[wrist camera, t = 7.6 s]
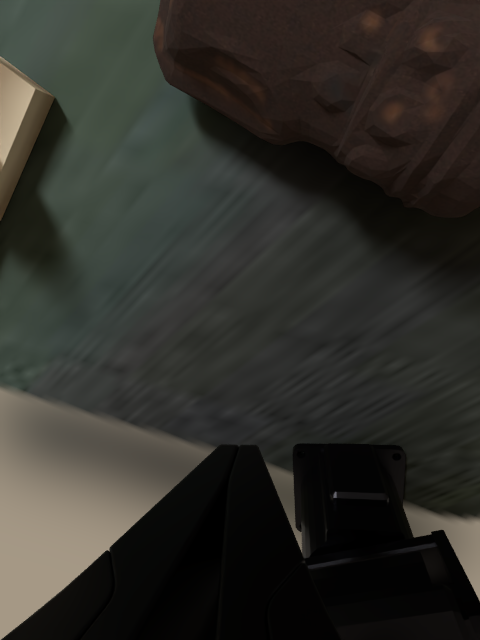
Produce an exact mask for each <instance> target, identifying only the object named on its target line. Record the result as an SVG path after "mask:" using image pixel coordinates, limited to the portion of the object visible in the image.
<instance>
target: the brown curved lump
mask: <svg viewBox="0 0 480 640" xmlns="http://www.w3.org/2000/svg"><path fill="white" fill-rule="evenodd" d="M153 42H154V49H155V53H156V56H157V59H158V62H159V65H160V68H161V70H162V72H163V75H164V77H165V80H166V81H167V82H168V83H169V84H170V85H172V86H174V87H176V88H177V89H179V90H181V91H183V92H185V93H186V94H188V95H190V96H192V97H194V98H195V99H197V100H199V101H201V102H203V103H204V104H206V105H208V106H209V107H211V108H213V109H214V110H216V111H218V112H219V113H221V114H223V115H224V116H226V117H228V118H229V119H231V120H233V121H234V122H236V123H238V124H239V125H241V126H242V127H244V128H245V129H247V130H248V131H250V132H251V133H253V134H255V135H256V136H258V137H259V138H261V139H263V140H265V141H267V142H269V143H271V144H275V145H285V144H289V143H293V142H297V141H307V142H309V143H311V144H314V145H316V146H318V147H320V148H323V149H324V150H326V151H327V152H328V153H330V155H331V156H332V157H333V158H334V159H335V160H336V161H337V162H338V163H340V164H343V165H345V166H346V168H347V170H349V171H350V172H351V173H353V174H354V175H356V176H358V177H360V178H362V179H366V180H370V181H372V182H374V183H376V184H377V185H379V186H380V187H382V188H383V190H384V193H385V194H386V195H388V196H389V197H397V198H399V199H400V200H402V202H403V206H404V207H408V208H420V209H421V210H423V211H425V212H427V213H428V214H430V215H432V216H436V217H443V218H456V217H463V216H465V215H467V214H468V213H470V212H472V211H473V210H475V209H476V208H478V207H479V206H480V0H161V1H160V7H159V13H158V18H157V22H156V26H155V31H154V35H153Z"/></svg>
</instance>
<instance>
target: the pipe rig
mask: <svg viewBox="0 0 480 640" xmlns="http://www.w3.org/2000/svg"><path fill="white" fill-rule="evenodd" d="M54 98H55V97H54V96H53V95H51V94H50V93H49V92H47V91H46V90H45V89H43V88H42V87H41V86H39V85H38V84H37V83H35V82H34V81H33V80H31V79H30V78H29V77H27V76H26V75H25V74H23V73H22V72H21V71H19V70H18V69H17V68H15V67H14V66H13V65H11V64H10V63H9V62H7V61H6V60H5V59H3V58H2V57H1V56H0V221H1V219H2V217H3V215H4V212H5V210H6V208H7V205H8V203H9V201H10V199H11V196H12V194H13V192H14V189H15V187H16V185H17V183H18V180H19V178H20V176H21V173H22V171H23V169H24V167H25V164H26V162H27V160H28V157H29V155H30V153H31V151H32V148H33V146H34V144H35V141H36V139H37V137H38V135H39V132H40V130H41V128H42V125H43V123H44V121H45V119H46V116H47V114H48V112H49V110H50V107H51V105H52V103H53V100H54Z"/></svg>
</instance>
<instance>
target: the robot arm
mask: <svg viewBox="0 0 480 640" xmlns="http://www.w3.org/2000/svg"><path fill="white" fill-rule="evenodd" d="M299 451H303V452H304V453H303V454H299V453H298V452H299ZM395 453H398V454H399V455H397V456H393V454H395ZM405 462H406V455H405V452H404V450H403V449H402V448H401V447H400V446H396V445H369V444H297V445H295V446H294V447H293V472H294V496H295V520H296V528H297V530H299V531H300V532H302V552H301V550H300V547H299V545H298V543H297V540H296V538H295V535H294V533H293V530H292V528H291V525H290V523H289V521H288V518H287V516H286V513H285V511H284V508H283V506H282V503H281V501H280V499H279V496H278V494H277V491H276V489H275V486H274V484H273V481H272V479H271V477H270V474H269V472H268V469H267V467H266V464H265V462H264V459H263V457H262V455H261V452H260V450H259V447H258V446H257V445H241V446H239V447H238V445H226V444H223V445H220V446H218V447H217V448H216V449H215V450H214V451H213V452H212V453H211V454H210V455H209V456H208V457H207V458H205V459H204V460H203V461H202V462H201V463H200V464H199V465H198V466H197V467H196V468H195V469H194V470H193V471H191V472H190V473H189V474H188V475H187V476H186V477H185V478H184V479H183V480H182V481H181V482H180V483H179V484H177V485H176V486H175V487H174V488H173V489H172V490H171V491H170V492H169V493H168V494H167V495H166V496H165V497H163V498H162V499H161V500H160V501H159V502H158V503H157V504H156V505H155V506H154V507H153V508H152V509H151V510H150V511H148V512H147V513H146V514H145V515H144V516H143V517H142V518H141V519H140V520H139V521H138V522H137V523H135V524H134V525H133V526H132V527H131V528H130V529H129V530H128V531H127V532H126V533H125V534H124V535H123V536H122V537H120V538H119V539H118V540H117V541H116V542H115V543H114V544H113V545H112V546H111V547H110V549H109V550H110V552H109V551H108V550H107V551H105V552H104V553H103V554H102V555H101V556H100V557H99V558H98V559H97V560H95V561H94V562H93V563H92V564H91V565H90V566H89V567H88V568H87V569H86V570H84V571H83V572H82V573H81V574H80V575H79V576H78V577H77V578H75V579H74V580H73V581H72V582H71V583H70V584H69V585H68V586H66V587H65V588H64V589H63V590H62V591H61V592H59V593H58V594H57V595H56V596H55V597H53V598H52V599H51V600H50V601H48V602H47V603H46V604H45V605H44V606H43V607H41V608H40V609H39V610H38V611H36V612H35V613H34V614H33V615H31V616H30V617H29V618H28V619H27V620H25V621H24V622H23V623H21V624H20V625H19V626H18V627H16V628H15V629H14V630H13V631H11V632H10V633H9V634H8V635H6V636H5V637H4V638H3V639H1V640H480V601H479V599H478V597H477V595H476V593H475V591H474V589H473V587H472V585H471V583H470V581H469V579H468V577H467V575H466V573H465V572H464V569H463V567H462V565H461V564H460V562H459V560H458V558H457V556H456V554H455V552H454V550H453V548H452V546H451V544H450V542H449V540H448V538H447V536H446V534H445V532H444V530H439V531H433V532H431V533H432V534H431V535H426V536H420V537H416V538H414V537H413V534H412V531H411V528H410V526H409V523H408V520H407V517H406V514H405V512H404V509H403V493H404V477H405Z"/></svg>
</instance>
